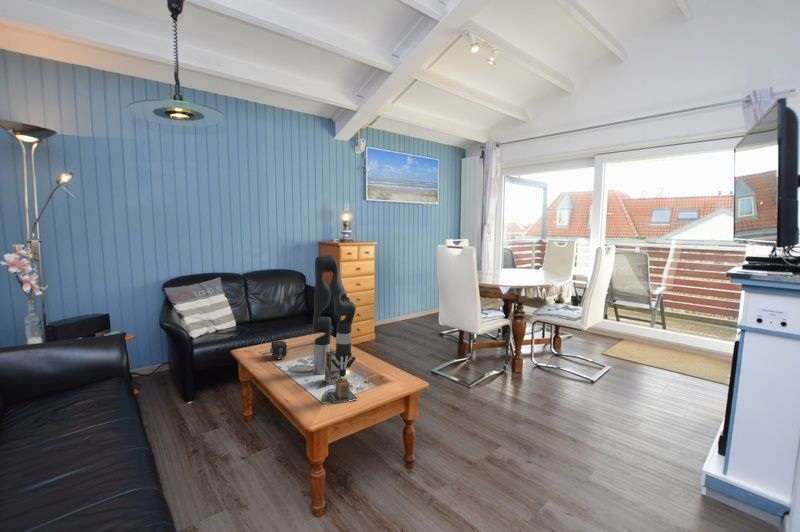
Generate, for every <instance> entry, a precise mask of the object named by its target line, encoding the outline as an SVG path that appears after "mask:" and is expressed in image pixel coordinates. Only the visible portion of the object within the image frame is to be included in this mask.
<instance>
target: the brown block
mask: <svg viewBox="0 0 800 532" xmlns="http://www.w3.org/2000/svg"><path fill="white" fill-rule="evenodd" d="M334 386H335V387H334V388H335V389H334V392H335V394H336V395H337V397H338V398H339V399H340V398H347V397H349V390H350V381H349V380H348V378H347V377H341V378H339V379H336V383H335V384H334Z"/></svg>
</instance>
